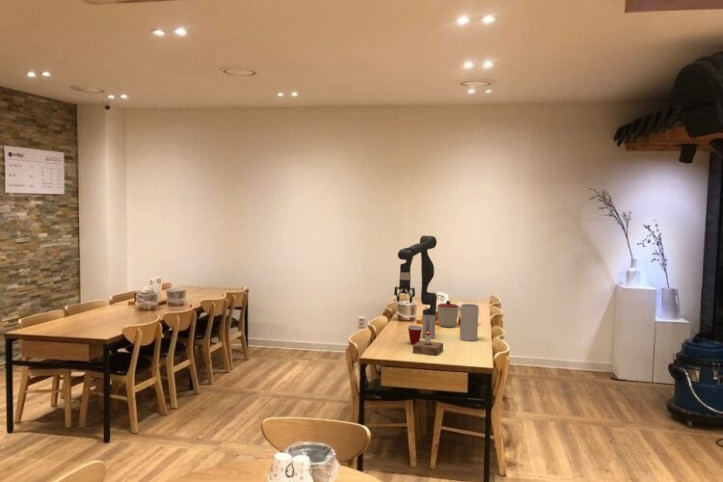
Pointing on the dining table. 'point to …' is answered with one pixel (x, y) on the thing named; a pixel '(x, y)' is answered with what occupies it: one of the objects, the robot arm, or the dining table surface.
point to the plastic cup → (414, 333)
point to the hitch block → (428, 348)
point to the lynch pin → (427, 337)
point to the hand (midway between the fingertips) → (404, 302)
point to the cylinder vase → (469, 322)
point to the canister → (447, 314)
